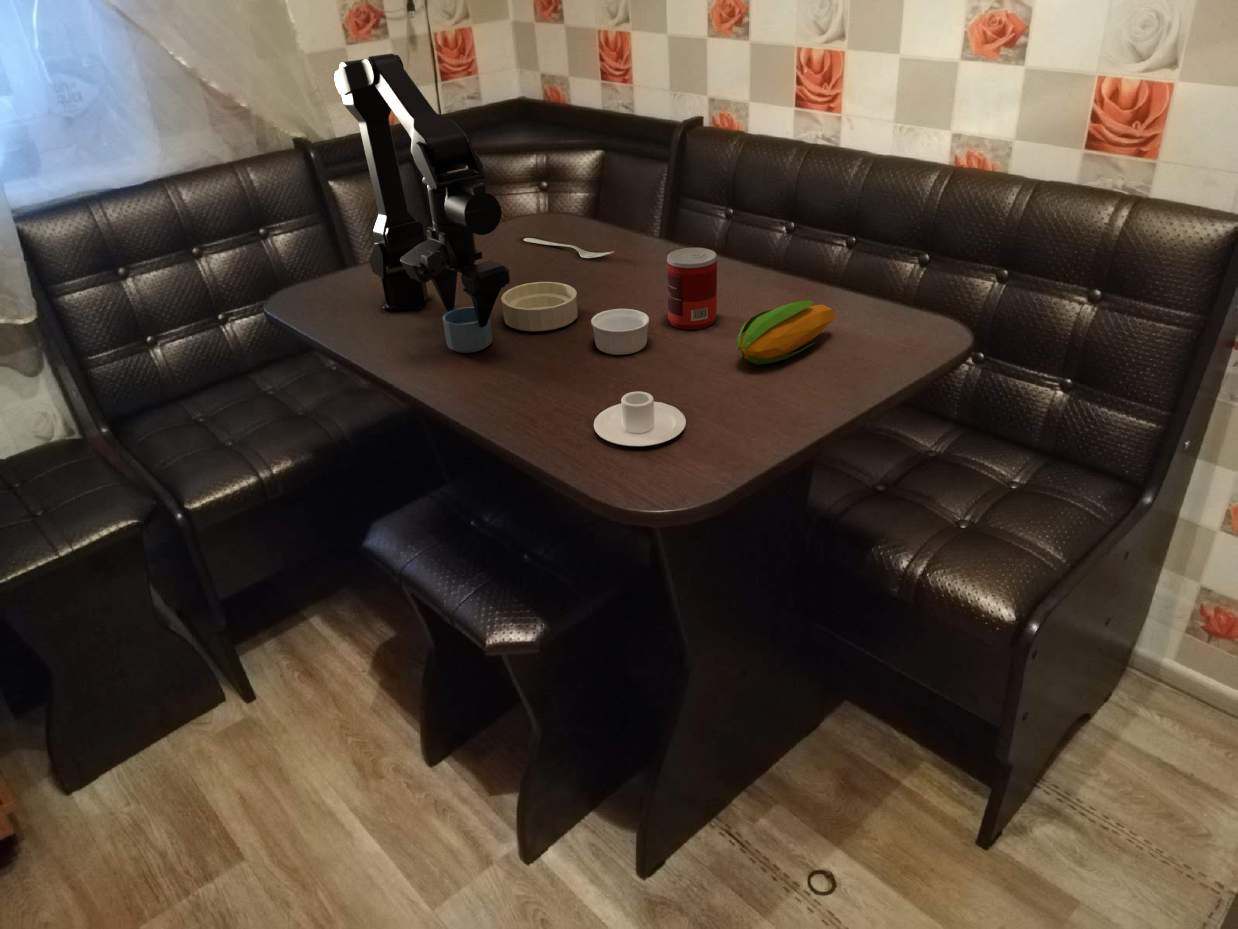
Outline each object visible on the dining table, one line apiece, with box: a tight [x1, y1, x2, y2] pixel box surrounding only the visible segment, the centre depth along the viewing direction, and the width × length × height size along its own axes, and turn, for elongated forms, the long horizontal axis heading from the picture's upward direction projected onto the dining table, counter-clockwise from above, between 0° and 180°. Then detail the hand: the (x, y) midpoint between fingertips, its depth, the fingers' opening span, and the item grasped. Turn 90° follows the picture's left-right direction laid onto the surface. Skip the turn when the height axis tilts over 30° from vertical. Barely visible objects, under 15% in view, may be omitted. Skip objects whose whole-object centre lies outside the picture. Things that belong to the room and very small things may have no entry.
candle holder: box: [593, 391, 687, 447], centre depth 119 cm, size 12×12×4 cm
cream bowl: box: [500, 281, 579, 332], centre depth 152 cm, size 12×12×4 cm
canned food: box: [666, 247, 718, 331], centre depth 147 cm, size 8×8×11 cm
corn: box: [736, 300, 835, 366], centre depth 136 cm, size 7×8×20 cm
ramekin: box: [590, 308, 650, 356], centre depth 142 cm, size 9×9×4 cm
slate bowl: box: [442, 306, 494, 354], centre depth 144 cm, size 7×7×5 cm
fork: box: [523, 237, 615, 259], centre depth 182 cm, size 3×24×2 cm, turn 48°
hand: (466, 318), depth 143 cm, fingers open, 9 cm apart
